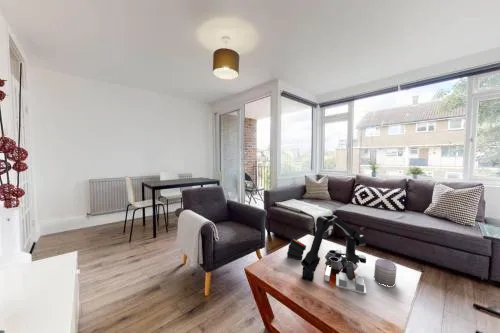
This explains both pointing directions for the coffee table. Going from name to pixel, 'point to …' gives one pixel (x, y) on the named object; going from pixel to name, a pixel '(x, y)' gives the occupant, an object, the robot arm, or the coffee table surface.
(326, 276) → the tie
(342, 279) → the white twin post stand
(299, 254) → the magazine
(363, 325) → the coffee table surface
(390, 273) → the can
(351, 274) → the lead
